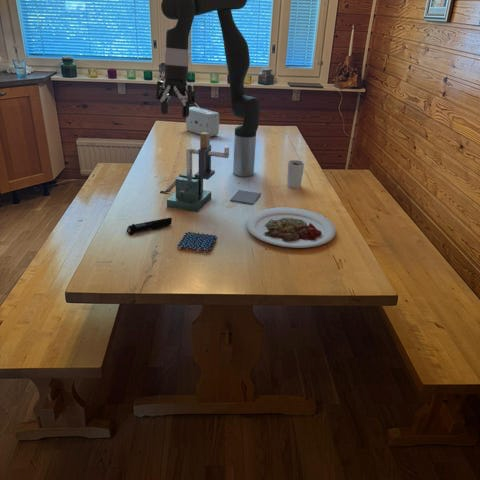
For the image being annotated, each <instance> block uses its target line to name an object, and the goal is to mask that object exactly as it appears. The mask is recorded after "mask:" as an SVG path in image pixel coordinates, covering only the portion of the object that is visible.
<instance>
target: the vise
mask: <svg viewBox="0 0 480 480" xmlns="http://www.w3.org/2000/svg"><path fill="white" fill-rule="evenodd" d="M185 151H186V152H185V153H186V173H185V172H182V173H180V174H181V175H180V174H179V175H180V177H179V176H177V177H176V178H175V179H174V181H176V185H175V192H173V193H172V194H171V196H169V197H168V198H167V199H166V208H169V209H175V210H180V211H181V210H182V211H185V212H186V211H187V212H192V213H199V212H200V211H201V210H202V209H203V208H204V207H205V206H206V204H208V203H209V202H210V201H211V199H212V190H211V191H210V190H205V189H204V179H200V178H195V174H193V154H194V155H199V148H198V149H197V148H191V147H187V148H186V150H185ZM206 155H208V156H211V157H218V158H221V159H222V158H224V159H228V158H229V156H230V148H229V146H225V147H224V152H219V151H212V150H211V151H207V152H206Z"/></svg>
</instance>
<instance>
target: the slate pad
mask: <svg viewBox="0 0 480 480" xmlns="http://www.w3.org/2000/svg"><path fill="white" fill-rule="evenodd" d="M260 196H261V192H256V191H255V192H254V191H250V190H244V189H238V190H237V192H235V193H234V195H233V196H232V197H231V198H230V199H229V201H230V202H232V203H233V202H234V203H240V204H245V205H254V204H255V202H256V201H257V200H258V199H259V198H260Z"/></svg>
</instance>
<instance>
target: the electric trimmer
mask: <svg viewBox="0 0 480 480" xmlns="http://www.w3.org/2000/svg"><path fill="white" fill-rule="evenodd" d="M172 221H173V218H172V217H167V218H162V219H155V220H151V221H145V222H140V223H136V224H135V223H132V224H131V225H130V224H129V225H128V227H127V228H126V233H127V234H128V235H129V236H134V234H136V233H141V232H145V231H149V230H154V231H155V230H158V229H162V228H166V227H168V226H170V225H172Z"/></svg>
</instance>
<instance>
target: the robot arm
mask: <svg viewBox="0 0 480 480" xmlns="http://www.w3.org/2000/svg"><path fill="white" fill-rule="evenodd" d="M247 2H248V0H162V1H161V4H160V8H161V9H160V10H161V12H162V14H163V16H164V17H166V18H167V19H168V20H176V21H177V22H176V24H175V26H173V27H169V28H167V29H166V35H165V52H164V74H163V75H164V79H165V81H164V80H157V82H156V93H155V94H156V95H155V99H156V100H158V101H160V103H161V104H160V110H161V114H162V115H167V114H168V112H169V110H168V109H169V102H168V101H169V100H170V98H172V97H175V98H178V99H179V100H180V101H181V103H182V111H181V112H182V114H181V115H182V116H181V117H182V118H184V119H186V117H188V116H189V107H191V105H196V104H195V103H196V86H195V85H194V84H187V82H188V77H189V76H188V74H189V36H190V32H191V29H192V25H193V22H194V19H195V17H196V16H200V15H205V14H208V13H212V12H215V11H216V13H217V15H218V16H217V17H218V21H219V25H220V30H221V34H222V41H223V47H224V55H225V56H224V57H225V61H226V66H227V73H228V82H229V92H230V106H231V112H232V114H233V115H234V116H235V117H236V118H240V119H243V122H242V125H237V126H236V127H235V128H234V142H233V145H234V146H233V169H232V171H233V172H232V173H233V174H234V175H235V176H239V177H251V176H253V175H254V174H255V162H256V160H255V159H256V158H255V157H256V144H257V142H256V141H257V130H258V129H259V123H260V115H261V114H260V113H261V103H260V100H259V99H258V98H257V97H255V96H250V95H247V94H246V91H245V85H244V84H245V78H246V76H247V73H248V70H249V69H250V68H249V67H250V64H251V59H250V58H251V57H250V51H249V44H248V42H247V41H246V39H245V37H244V35H243V34H242V32H241V31H240V29H239V28H238V27H237V24H236V23H235V20H234V16H233V12H232V11H234V10H237V11H238V10H240V9H243V8H244V7H245V6H246V4H247ZM186 91H187V92H186Z"/></svg>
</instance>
